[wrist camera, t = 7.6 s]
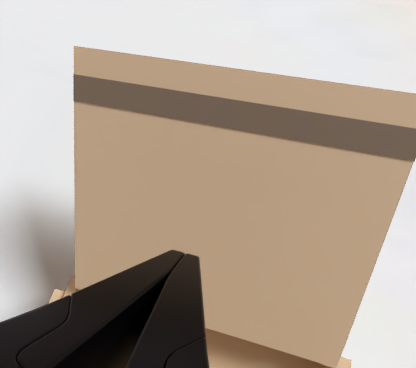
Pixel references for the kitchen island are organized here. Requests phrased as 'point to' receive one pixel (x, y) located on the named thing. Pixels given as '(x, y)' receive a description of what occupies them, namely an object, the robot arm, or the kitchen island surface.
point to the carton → (237, 349)
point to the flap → (240, 188)
